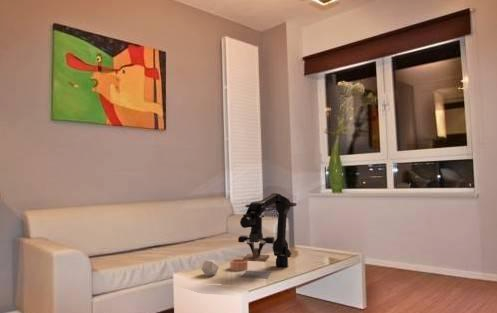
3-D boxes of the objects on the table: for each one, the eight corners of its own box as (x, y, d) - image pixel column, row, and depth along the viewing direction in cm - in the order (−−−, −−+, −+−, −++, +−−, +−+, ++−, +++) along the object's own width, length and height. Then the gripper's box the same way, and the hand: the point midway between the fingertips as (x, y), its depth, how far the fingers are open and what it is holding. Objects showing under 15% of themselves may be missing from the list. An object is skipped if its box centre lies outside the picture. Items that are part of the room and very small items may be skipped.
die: (216, 273, 200) (205, 259, 201) (224, 268, 194) (213, 253, 195) (206, 282, 193) (195, 267, 194) (214, 277, 188) (203, 261, 189)
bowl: (249, 268, 210) (249, 259, 210) (245, 272, 200) (245, 263, 201) (232, 267, 212) (233, 258, 212) (228, 271, 203) (228, 262, 203)
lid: (269, 257, 199) (269, 247, 199) (265, 261, 187) (265, 251, 187) (247, 255, 201) (247, 246, 202) (242, 260, 190) (242, 250, 190)
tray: (271, 273, 199) (271, 272, 199) (267, 280, 185) (267, 278, 186) (246, 271, 202) (246, 270, 202) (240, 278, 189) (240, 277, 189)
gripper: (235, 227, 190) (235, 258, 189) (271, 228, 185) (271, 260, 184) (240, 224, 200) (240, 253, 199) (274, 226, 196) (274, 255, 195)
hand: (256, 255), depth 194 cm, fingers closed on lid, 2 cm apart
